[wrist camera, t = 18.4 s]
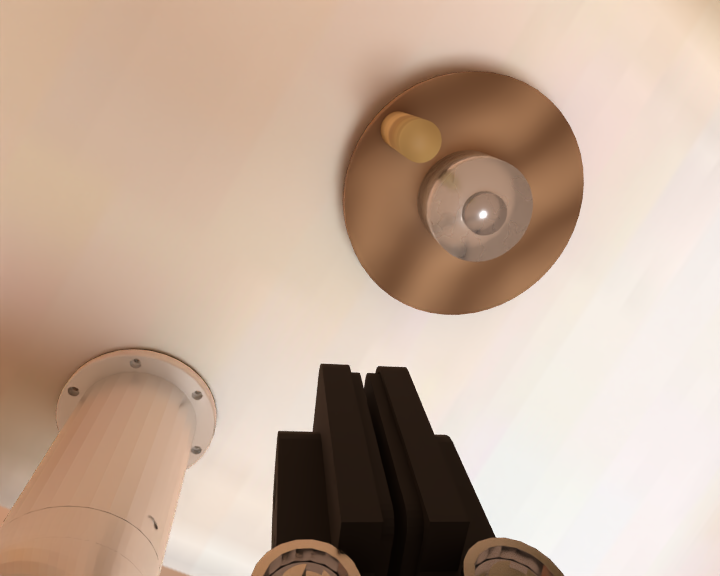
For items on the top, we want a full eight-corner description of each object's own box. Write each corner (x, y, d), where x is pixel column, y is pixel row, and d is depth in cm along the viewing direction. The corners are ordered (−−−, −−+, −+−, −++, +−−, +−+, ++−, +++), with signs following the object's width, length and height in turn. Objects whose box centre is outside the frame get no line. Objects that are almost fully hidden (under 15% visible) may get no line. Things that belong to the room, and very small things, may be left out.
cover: (528, 197, 40) (558, 212, 36) (459, 262, 42) (480, 285, 37) (469, 128, 38) (493, 136, 33) (397, 200, 39) (411, 217, 35)
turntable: (617, 194, 43) (691, 221, 35) (450, 347, 46) (484, 403, 38) (473, 12, 37) (524, -5, 29) (292, 204, 40) (294, 236, 32)
